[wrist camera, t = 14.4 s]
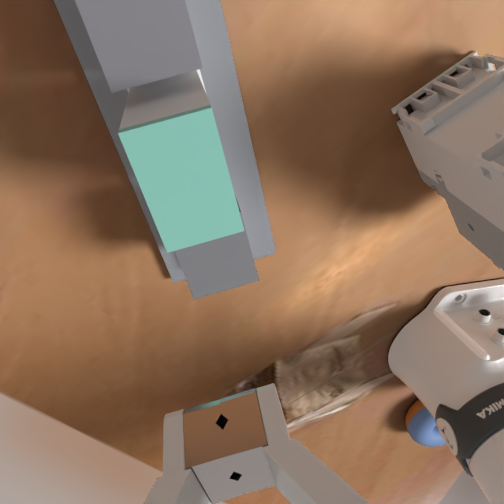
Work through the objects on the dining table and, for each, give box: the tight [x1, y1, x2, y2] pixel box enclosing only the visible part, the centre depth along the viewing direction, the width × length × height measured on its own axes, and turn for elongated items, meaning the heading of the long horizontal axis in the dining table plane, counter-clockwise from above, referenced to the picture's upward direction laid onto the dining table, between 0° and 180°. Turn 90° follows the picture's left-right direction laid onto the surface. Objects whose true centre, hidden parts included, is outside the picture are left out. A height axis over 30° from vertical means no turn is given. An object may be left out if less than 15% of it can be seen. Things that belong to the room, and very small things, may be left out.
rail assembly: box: [54, 0, 276, 299], centre depth 28 cm, size 10×28×8 cm, turn 12°
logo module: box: [118, 70, 244, 253], centre depth 25 cm, size 4×7×10 cm, turn 12°
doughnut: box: [405, 399, 446, 447], centre depth 59 cm, size 10×10×5 cm
